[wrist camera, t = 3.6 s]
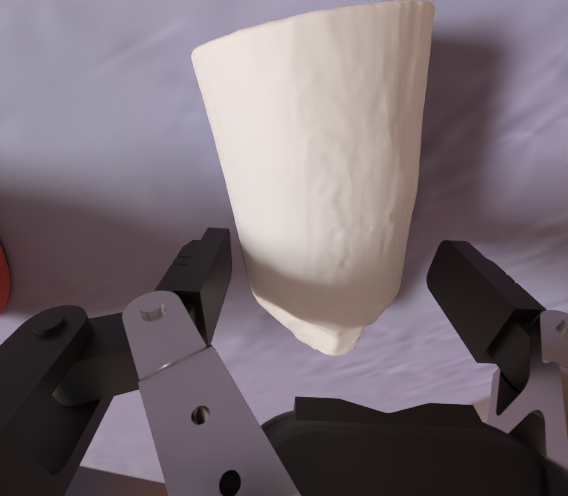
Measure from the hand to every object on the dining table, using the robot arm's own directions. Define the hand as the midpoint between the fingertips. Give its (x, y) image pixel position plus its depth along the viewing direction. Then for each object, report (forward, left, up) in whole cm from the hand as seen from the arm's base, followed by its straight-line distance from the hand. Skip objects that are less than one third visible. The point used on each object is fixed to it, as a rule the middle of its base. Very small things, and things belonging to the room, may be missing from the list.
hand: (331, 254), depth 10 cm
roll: (-1, -1, -3) cm, 3 cm away
